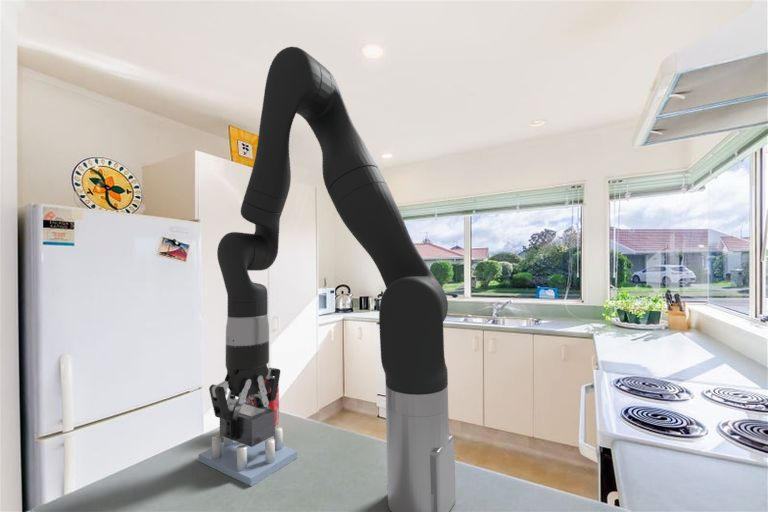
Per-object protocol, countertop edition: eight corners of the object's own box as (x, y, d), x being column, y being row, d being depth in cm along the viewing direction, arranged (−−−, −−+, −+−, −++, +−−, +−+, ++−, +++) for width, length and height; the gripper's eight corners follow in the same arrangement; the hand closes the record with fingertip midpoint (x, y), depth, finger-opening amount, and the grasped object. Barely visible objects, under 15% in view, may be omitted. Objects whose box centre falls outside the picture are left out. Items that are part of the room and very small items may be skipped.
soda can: (238, 430, 76) (238, 374, 77) (265, 418, 82) (265, 367, 83) (258, 438, 72) (258, 379, 73) (285, 425, 78) (285, 371, 79)
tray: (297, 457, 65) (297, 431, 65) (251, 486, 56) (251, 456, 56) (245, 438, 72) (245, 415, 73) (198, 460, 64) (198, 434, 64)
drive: (274, 435, 64) (274, 409, 64) (251, 447, 60) (251, 419, 60) (242, 424, 69) (243, 401, 69) (219, 435, 65) (219, 409, 65)
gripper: (224, 349, 57) (224, 456, 56) (290, 335, 69) (291, 422, 69) (198, 344, 61) (197, 444, 60) (265, 332, 73) (265, 414, 72)
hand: (247, 432), depth 64 cm, fingers closed on drive, 5 cm apart
